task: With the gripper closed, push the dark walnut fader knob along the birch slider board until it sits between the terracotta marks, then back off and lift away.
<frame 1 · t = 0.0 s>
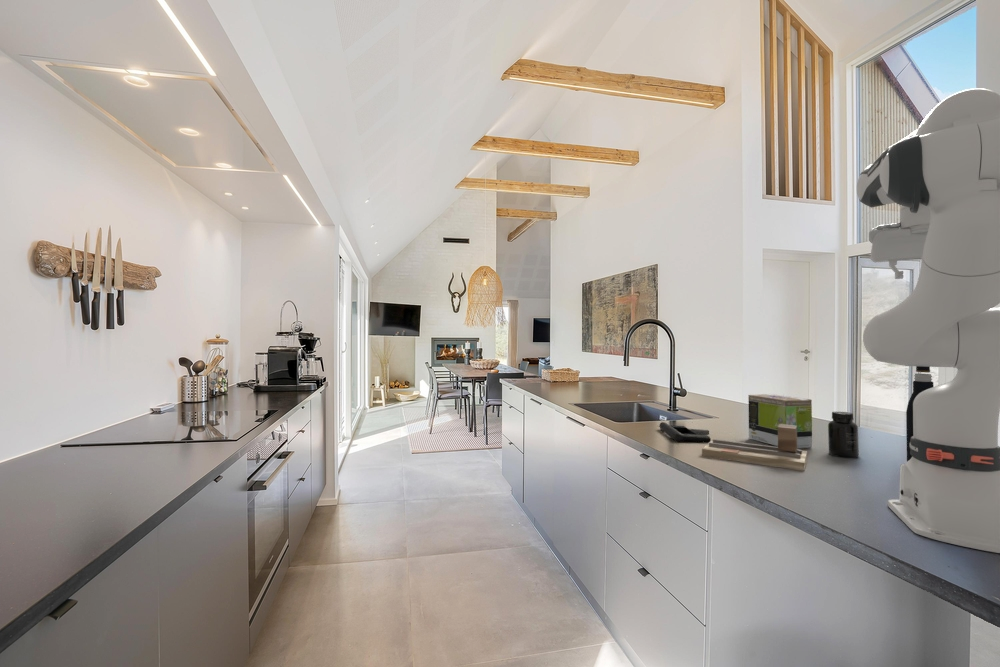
hand: (925, 277, 108), 48 cm above the countertop, fingers open, 8 cm apart
tea box: (779, 443, 140), on the countertop
slider board: (753, 457, 125), on the countertop
fader knob: (787, 439, 120), point 6 cm above the countertop, slide at 0.0 cm
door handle: (687, 437, 151), on the countertop
black water bottle: (924, 470, 112), on the countertop
supplement bottle: (843, 455, 126), on the countertop
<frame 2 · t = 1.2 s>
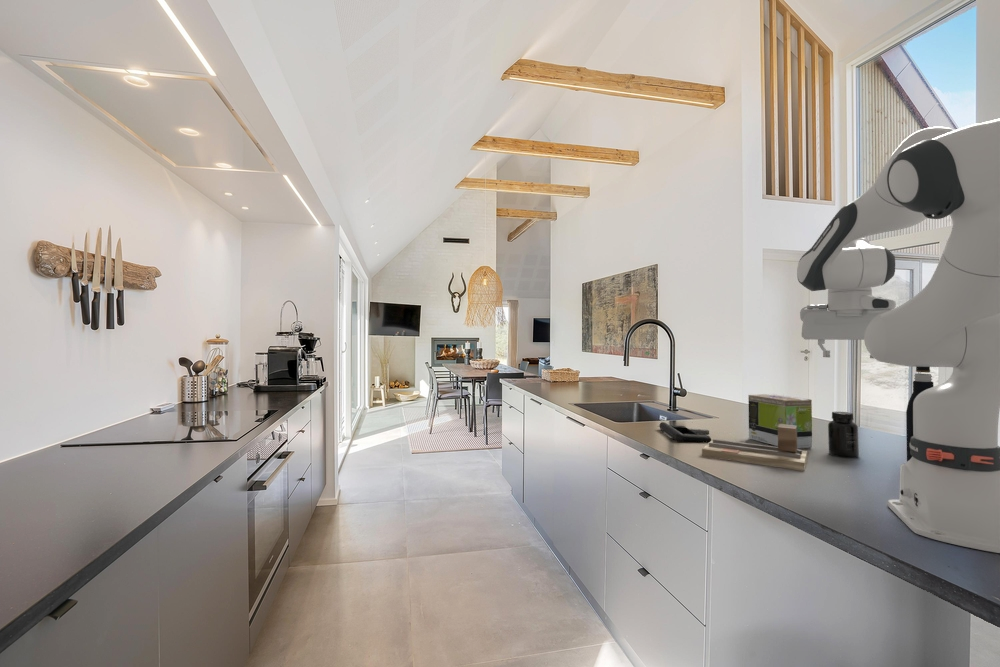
hand: (849, 357, 113), 28 cm above the countertop, fingers open, 8 cm apart
nothing on the countertop moved.
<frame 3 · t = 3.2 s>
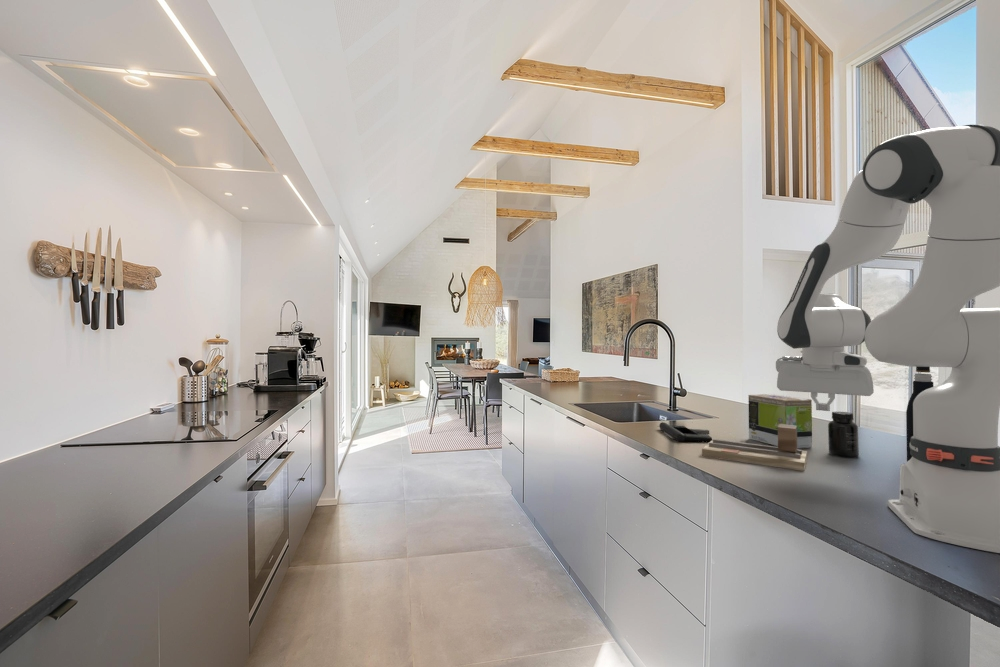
hand: (822, 410, 116), 15 cm above the countertop, fingers closed
nothing on the countertop moved.
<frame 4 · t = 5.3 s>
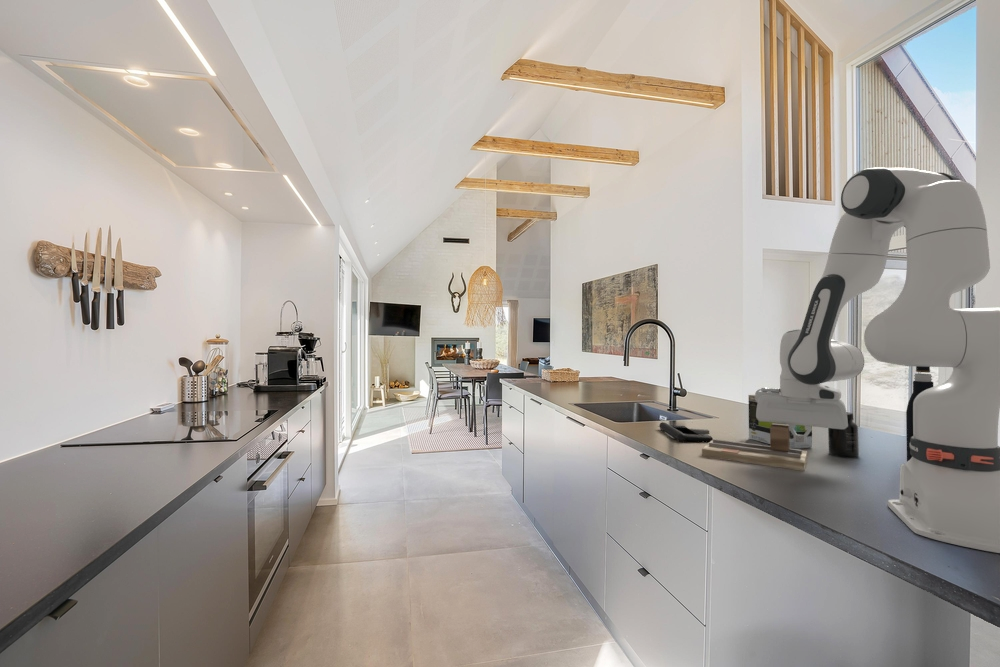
hand: (800, 441, 118), 6 cm above the countertop, fingers closed
fader knob: (779, 438, 121), point 6 cm above the countertop, slide at 1.8 cm, touching gripper
everything else where it was.
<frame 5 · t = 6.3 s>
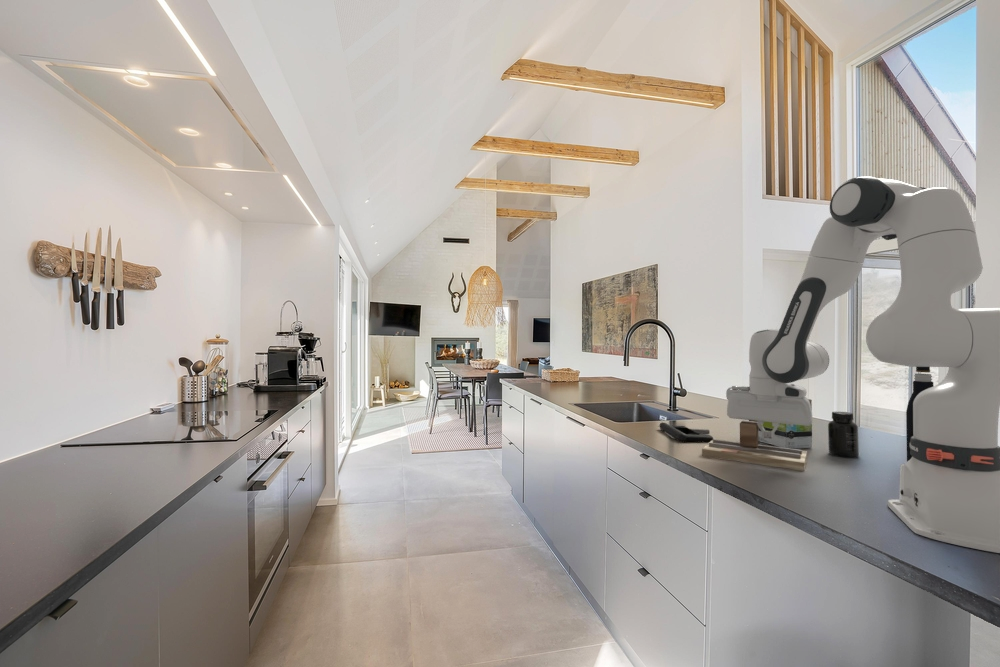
hand: (768, 437, 123), 6 cm above the countertop, fingers closed
fader knob: (749, 435, 125), point 6 cm above the countertop, slide at 9.1 cm, touching gripper
everything else where it was.
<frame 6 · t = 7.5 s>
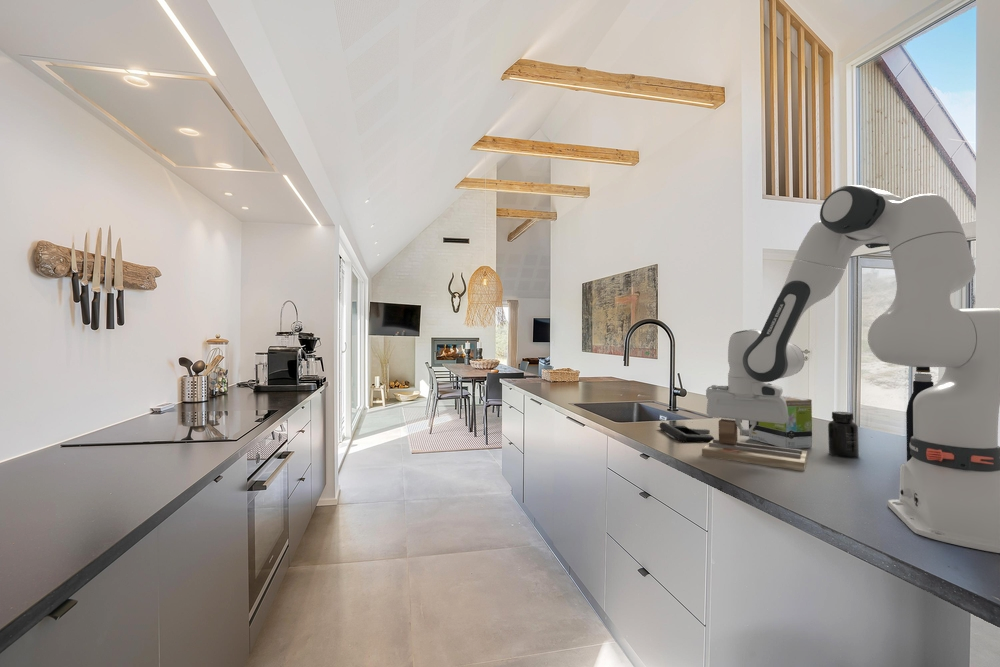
hand: (746, 435, 126), 6 cm above the countertop, fingers closed
fader knob: (728, 432, 129), point 6 cm above the countertop, slide at 14.5 cm, touching gripper
everything else where it was.
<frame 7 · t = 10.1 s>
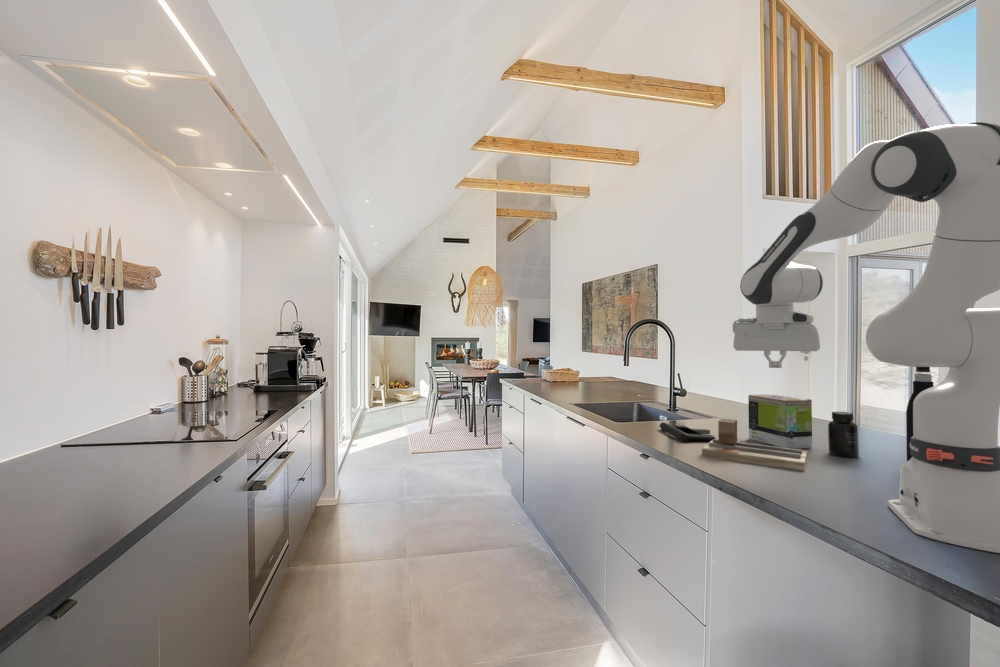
hand: (775, 367, 122), 25 cm above the countertop, fingers closed
fader knob: (727, 432, 129), point 6 cm above the countertop, slide at 14.5 cm
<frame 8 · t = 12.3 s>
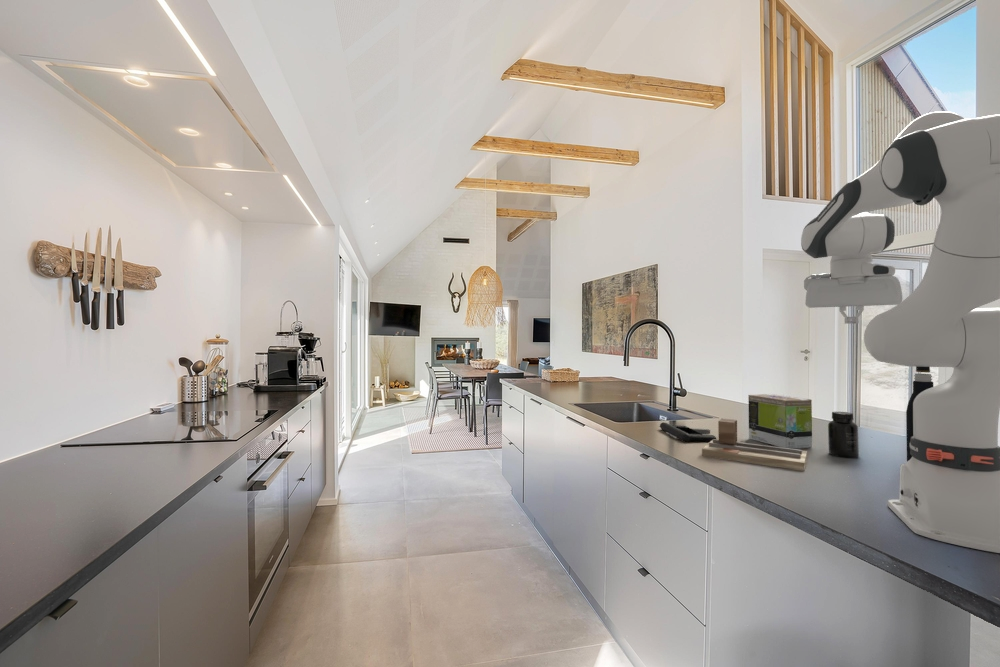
hand: (851, 323, 119), 37 cm above the countertop, fingers closed
at the end: fader knob slide at 14.5 cm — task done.
